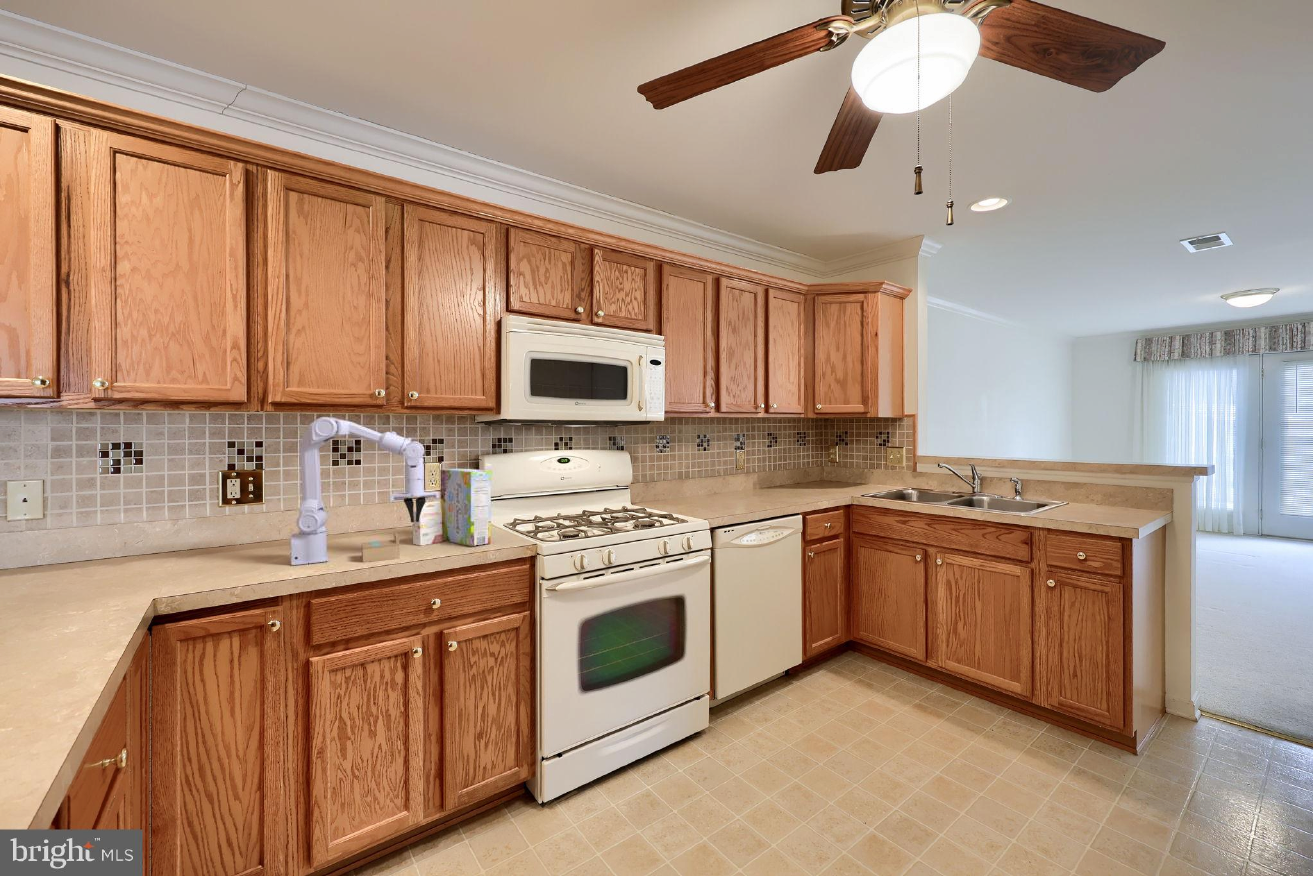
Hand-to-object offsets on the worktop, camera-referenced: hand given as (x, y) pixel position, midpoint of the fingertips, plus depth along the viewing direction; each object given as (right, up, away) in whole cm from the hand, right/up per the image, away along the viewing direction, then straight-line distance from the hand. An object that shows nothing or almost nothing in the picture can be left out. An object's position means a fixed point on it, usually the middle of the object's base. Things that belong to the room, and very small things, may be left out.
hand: (414, 521), depth 179 cm
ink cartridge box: (-3, -10, +17) cm, 20 cm away
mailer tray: (-9, -11, -5) cm, 14 cm away
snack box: (+9, -10, +20) cm, 24 cm away
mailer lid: (-9, -6, -5) cm, 12 cm away
